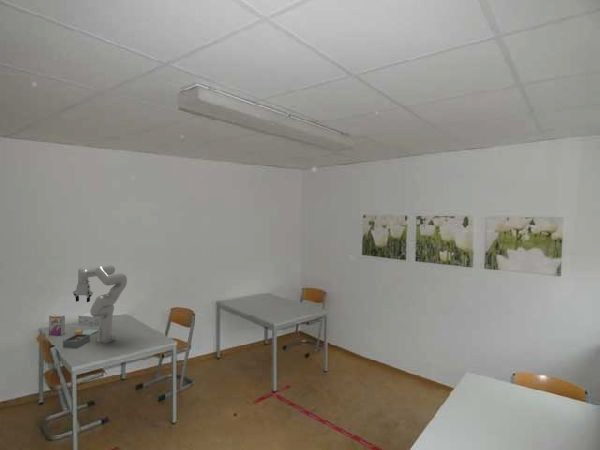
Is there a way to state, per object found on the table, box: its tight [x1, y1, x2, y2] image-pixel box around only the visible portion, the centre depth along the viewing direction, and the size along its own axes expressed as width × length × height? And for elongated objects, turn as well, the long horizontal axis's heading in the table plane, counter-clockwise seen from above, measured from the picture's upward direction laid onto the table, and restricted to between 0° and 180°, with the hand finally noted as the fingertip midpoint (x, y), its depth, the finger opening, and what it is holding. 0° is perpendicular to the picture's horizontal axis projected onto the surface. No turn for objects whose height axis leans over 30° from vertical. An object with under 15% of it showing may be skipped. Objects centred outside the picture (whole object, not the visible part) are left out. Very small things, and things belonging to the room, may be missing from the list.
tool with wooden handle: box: [74, 328, 99, 336], centre depth 305 cm, size 21×10×7 cm, turn 177°
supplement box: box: [77, 311, 101, 327], centre depth 336 cm, size 17×13×9 cm
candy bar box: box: [48, 314, 66, 336], centre depth 305 cm, size 11×5×16 cm, turn 84°
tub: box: [62, 334, 91, 349], centre depth 283 cm, size 16×11×6 cm
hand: (82, 301), depth 307 cm, fingers open, 9 cm apart
